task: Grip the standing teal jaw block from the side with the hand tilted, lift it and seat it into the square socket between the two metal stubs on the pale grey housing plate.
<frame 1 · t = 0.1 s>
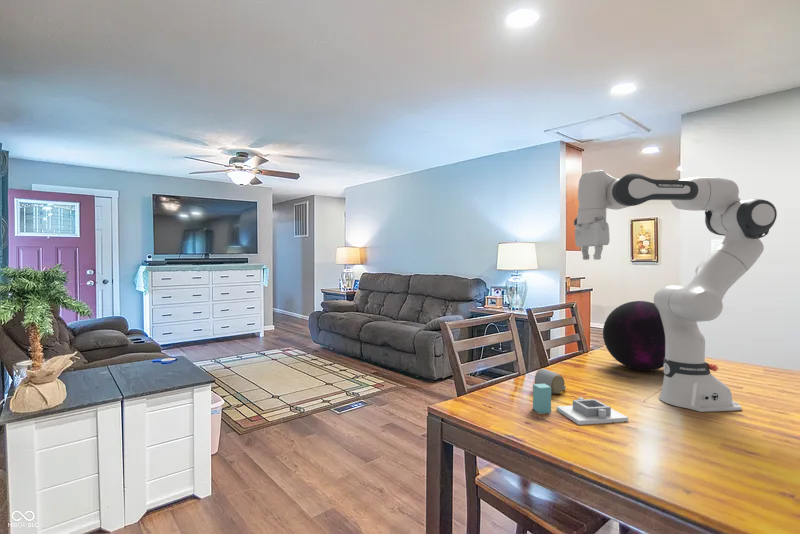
hand: (591, 259, 141), 48 cm above the table, tool pointing down, fingers open, 8 cm apart
black purple ball: (640, 369, 182), on the table
jaw block: (541, 410, 131), on the table
ceramic mug: (551, 391, 152), on the table
housing plate: (591, 415, 127), on the table
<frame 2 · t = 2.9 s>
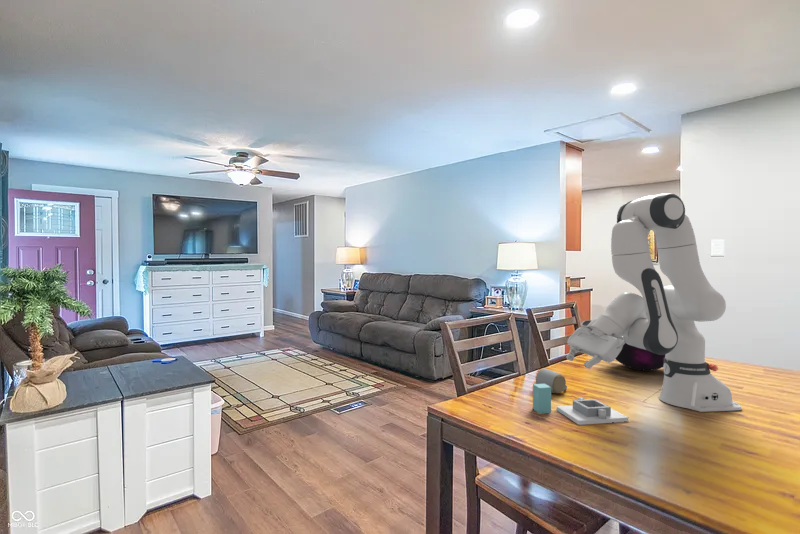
hand: (577, 363, 133), 15 cm above the table, tool tilted 45°, fingers open, 8 cm apart
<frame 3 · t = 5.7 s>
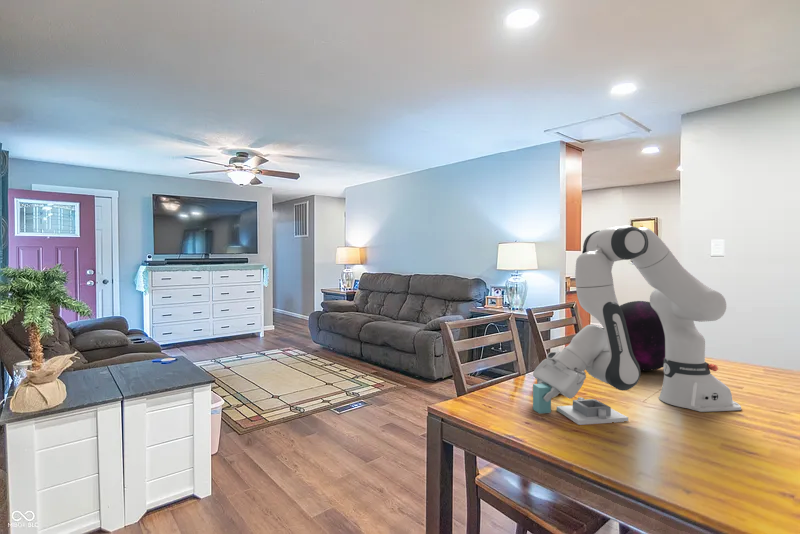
hand: (540, 397, 131), 4 cm above the table, tool tilted 45°, fingers closed on jaw block, 4 cm apart
jaw block: (541, 410, 131), on the table, touching gripper
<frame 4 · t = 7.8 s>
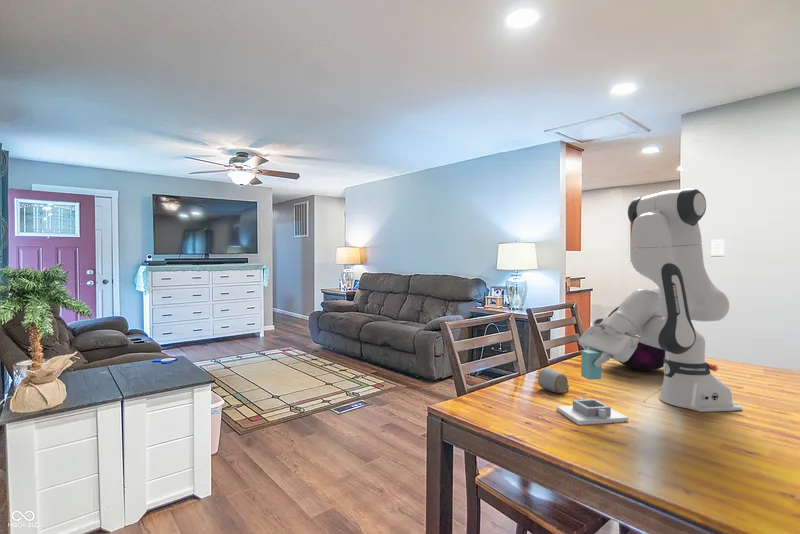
hand: (589, 363, 127), 16 cm above the table, tool tilted 45°, fingers closed on jaw block, 4 cm apart
jaw block: (591, 377, 127), point 12 cm above the table, touching gripper
when the fingers open (7 cm above the table, at t = 9.9 s): jaw block drops 1 cm, resting on housing plate.
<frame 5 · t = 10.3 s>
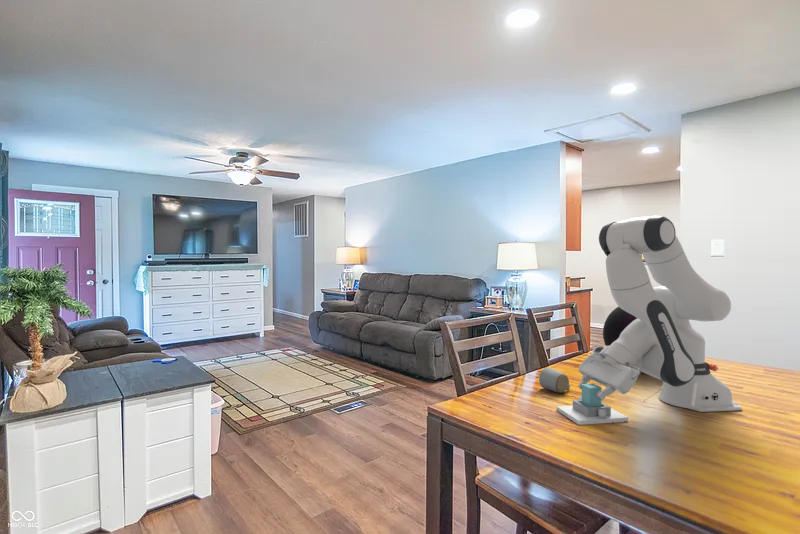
hand: (589, 392, 127), 7 cm above the table, tool tilted 45°, fingers open, 8 cm apart
jaw block: (591, 411, 127), point 1 cm above the table, touching housing plate
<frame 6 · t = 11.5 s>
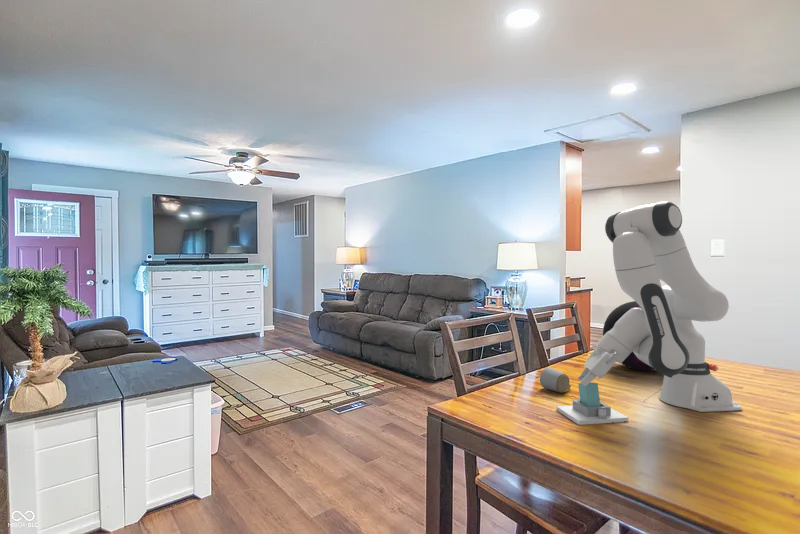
hand: (581, 382, 131), 9 cm above the table, tool tilted 40°, fingers open, 8 cm apart
jaw block: (591, 410, 127), point 2 cm above the table, tilted 13°, touching housing plate
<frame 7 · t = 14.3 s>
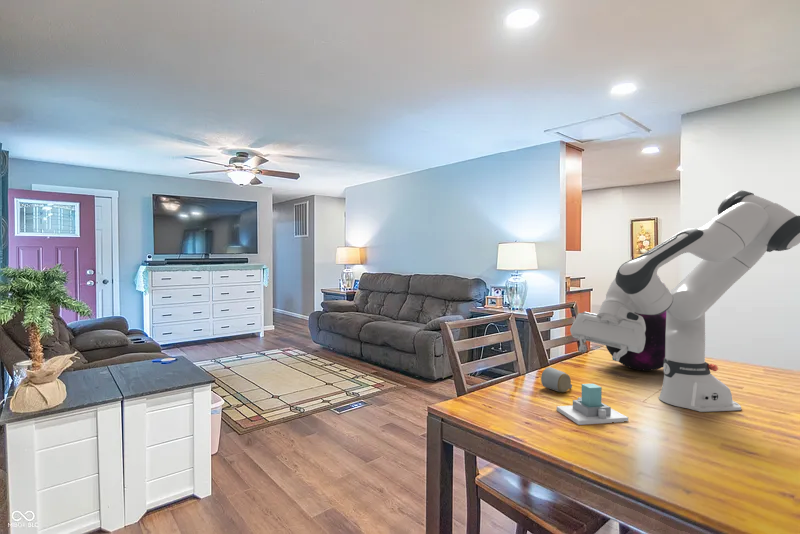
hand: (597, 355, 121), 20 cm above the table, tool tilted 40°, fingers open, 8 cm apart
jaw block: (591, 411, 127), point 1 cm above the table, touching housing plate
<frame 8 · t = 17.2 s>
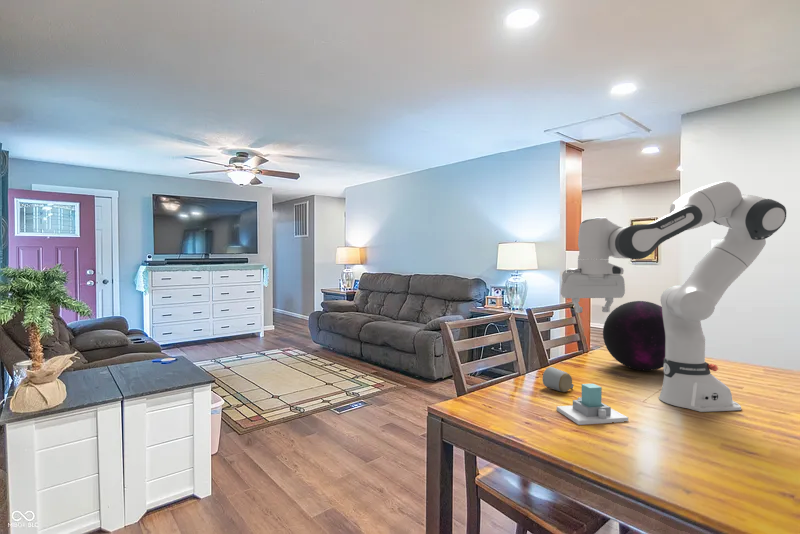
hand: (592, 312, 132), 31 cm above the table, tool pointing down, fingers open, 8 cm apart
at the end: jaw block 0.0 cm off-centre on the housing plate, point 1.2 cm above the housing plate's base; jaw block tilted 0°; the gripper is holding nothing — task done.
